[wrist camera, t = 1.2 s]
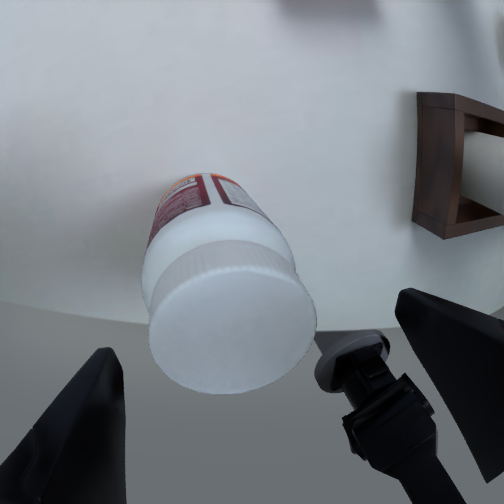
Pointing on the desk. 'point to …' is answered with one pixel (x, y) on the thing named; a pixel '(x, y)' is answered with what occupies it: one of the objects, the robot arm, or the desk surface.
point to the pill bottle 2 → (483, 170)
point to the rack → (450, 164)
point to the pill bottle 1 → (222, 290)
